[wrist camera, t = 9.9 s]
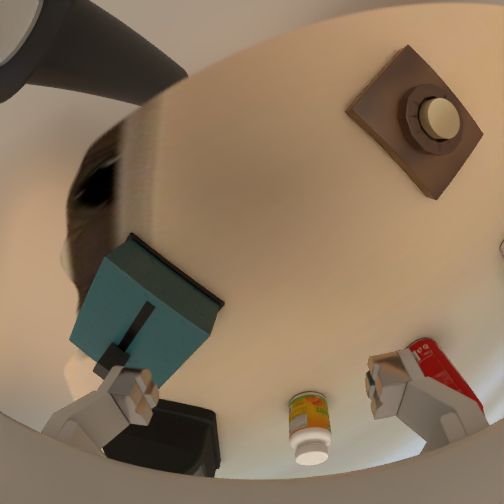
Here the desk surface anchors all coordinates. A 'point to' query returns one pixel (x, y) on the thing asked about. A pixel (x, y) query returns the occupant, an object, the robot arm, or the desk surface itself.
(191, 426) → the roll top bread box
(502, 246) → the ink box
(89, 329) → the block
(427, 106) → the button
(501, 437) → the robot arm
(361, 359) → the desk surface
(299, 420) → the supplement bottle
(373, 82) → the control block
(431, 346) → the beverage can
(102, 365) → the slider
